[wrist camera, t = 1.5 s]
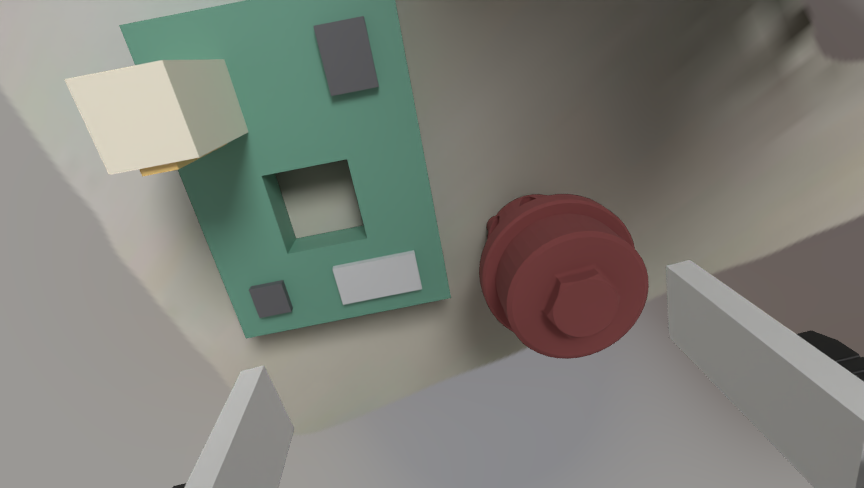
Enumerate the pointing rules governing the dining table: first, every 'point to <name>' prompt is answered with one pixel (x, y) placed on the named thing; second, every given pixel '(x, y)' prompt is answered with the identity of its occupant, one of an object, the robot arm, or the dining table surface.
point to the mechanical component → (562, 274)
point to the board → (309, 158)
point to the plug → (158, 113)
